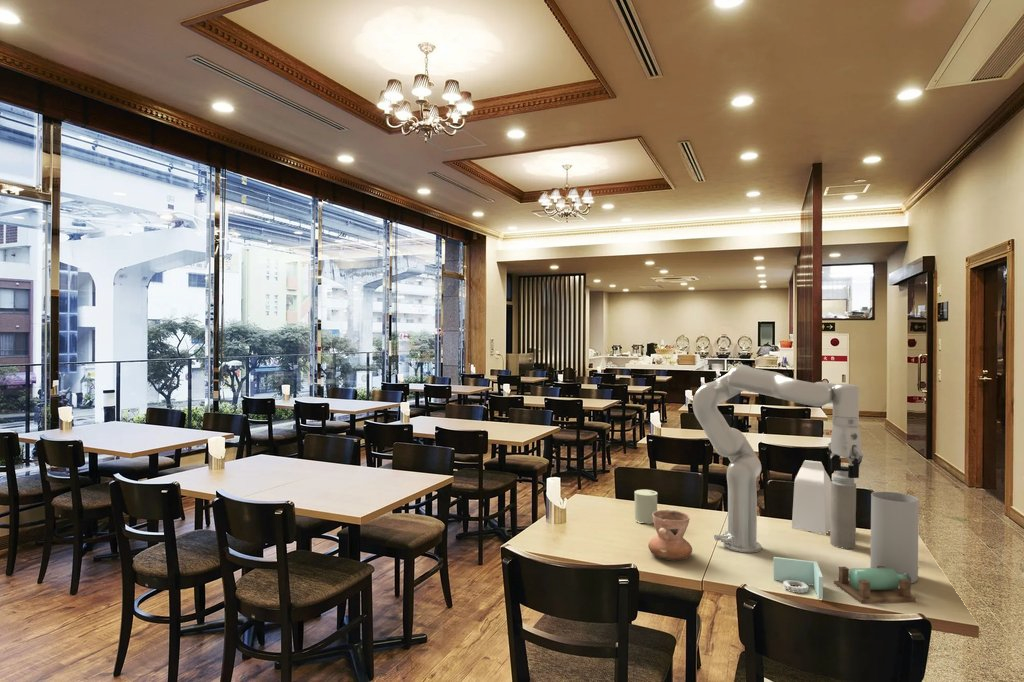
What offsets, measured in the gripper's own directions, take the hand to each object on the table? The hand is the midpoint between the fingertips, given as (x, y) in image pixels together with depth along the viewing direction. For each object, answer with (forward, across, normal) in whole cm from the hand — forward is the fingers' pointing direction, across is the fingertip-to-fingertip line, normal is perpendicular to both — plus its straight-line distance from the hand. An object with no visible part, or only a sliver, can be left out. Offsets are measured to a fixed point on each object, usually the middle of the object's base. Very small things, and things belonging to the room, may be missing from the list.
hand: (844, 474), depth 197 cm
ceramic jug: (+31, +10, +54) cm, 63 cm away
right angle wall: (+31, -18, +24) cm, 43 cm away
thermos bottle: (+30, +18, -11) cm, 37 cm away
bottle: (+29, -21, +1) cm, 35 cm away
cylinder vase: (+30, -10, -11) cm, 33 cm away
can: (+31, +48, +52) cm, 78 cm away
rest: (+30, -21, +3) cm, 36 cm away
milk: (+30, +38, -11) cm, 49 cm away
